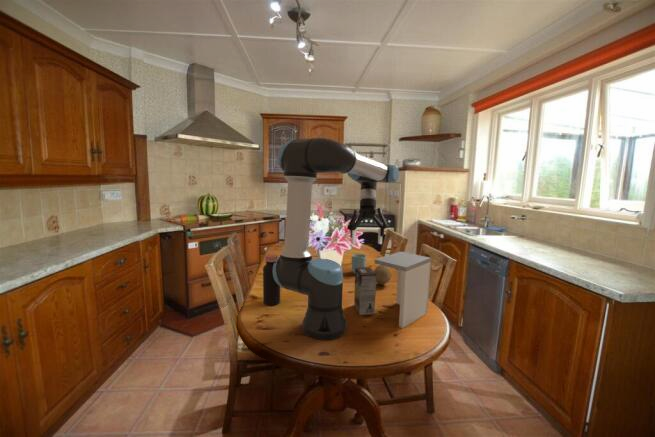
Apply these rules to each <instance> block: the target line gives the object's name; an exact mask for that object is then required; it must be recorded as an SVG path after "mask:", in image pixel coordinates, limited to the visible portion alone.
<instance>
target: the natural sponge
mask: <svg viewBox="0 0 655 437" xmlns="http://www.w3.org/2000/svg"><path fill="white" fill-rule="evenodd" d="M373 271H374V272H375V273H376V274H377V277H376V284H378V285H380V286H384V285H386V284H387V283H389V282H390V281H391V279H392V277H393V275H392V271H391V269H390V267H387V266H383V265H379V264H378V265H377V266H376V267H375V268H374V270H373Z"/></svg>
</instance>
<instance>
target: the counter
mask: <svg viewBox="0 0 655 437" xmlns="http://www.w3.org/2000/svg"><path fill="white" fill-rule="evenodd" d="M431 263H432V258H431V257H429V256H424V255H419V254H414V253H410V252H406V251H399V252H393V253H392V254H389V255H384V256H381V257H379V258H375V259H374V264H375V265H378V266H379V265H383V266H387V267H388V268H389V269H390V268H391V269H395V270H397V280H396V281H397V283H396V284H397V286H396V304H397V305H399V317H398V319H399V320H398V328H401V329H404V328H405V327H407V326H408V325H410V324H412V323H413V322H416V321H417V320H418V319H419V318H422V317H423V316H424V315H426V314H427V313H428V310H429V309H428V308H429V306H428V305H429V292H430V279H431V278H430V277H431V276H430V275H431V265H432V264H431Z"/></svg>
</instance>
